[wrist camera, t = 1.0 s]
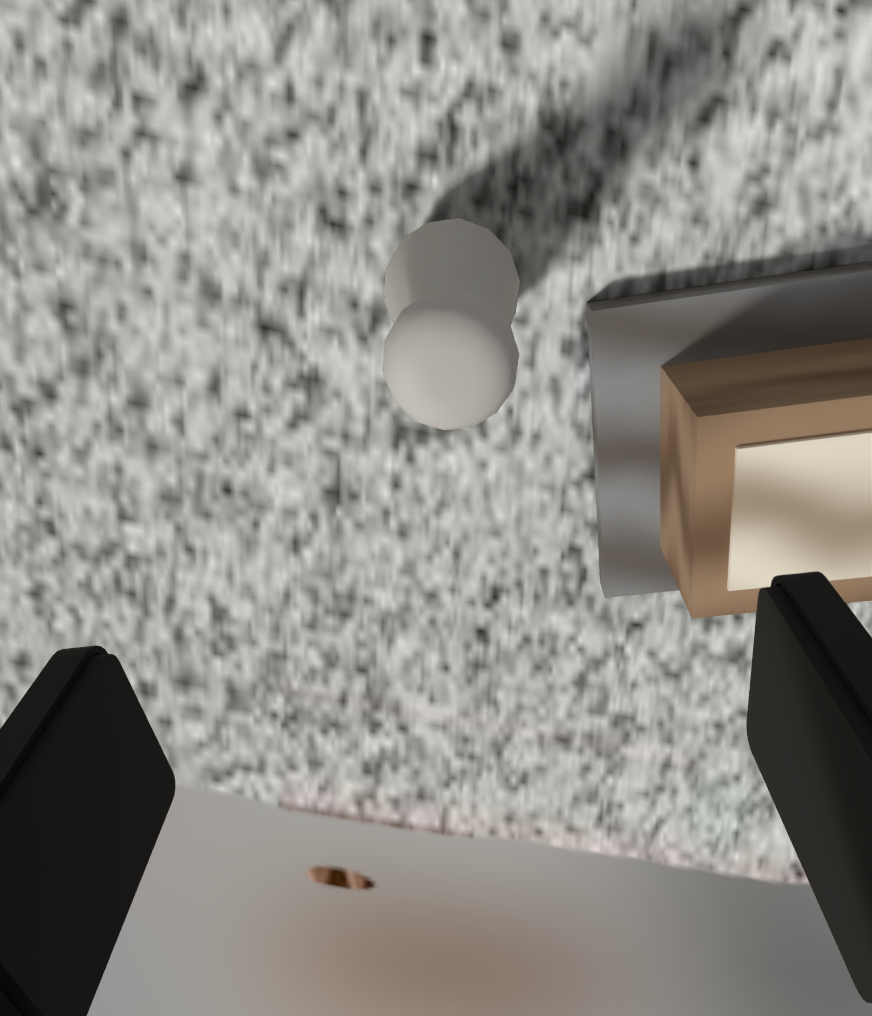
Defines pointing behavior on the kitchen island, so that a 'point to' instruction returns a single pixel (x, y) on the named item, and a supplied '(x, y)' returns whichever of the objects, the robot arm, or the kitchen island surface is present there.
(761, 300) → the plinth
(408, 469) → the kitchen island surface
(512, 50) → the kitchen island surface
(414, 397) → the salt shaker
